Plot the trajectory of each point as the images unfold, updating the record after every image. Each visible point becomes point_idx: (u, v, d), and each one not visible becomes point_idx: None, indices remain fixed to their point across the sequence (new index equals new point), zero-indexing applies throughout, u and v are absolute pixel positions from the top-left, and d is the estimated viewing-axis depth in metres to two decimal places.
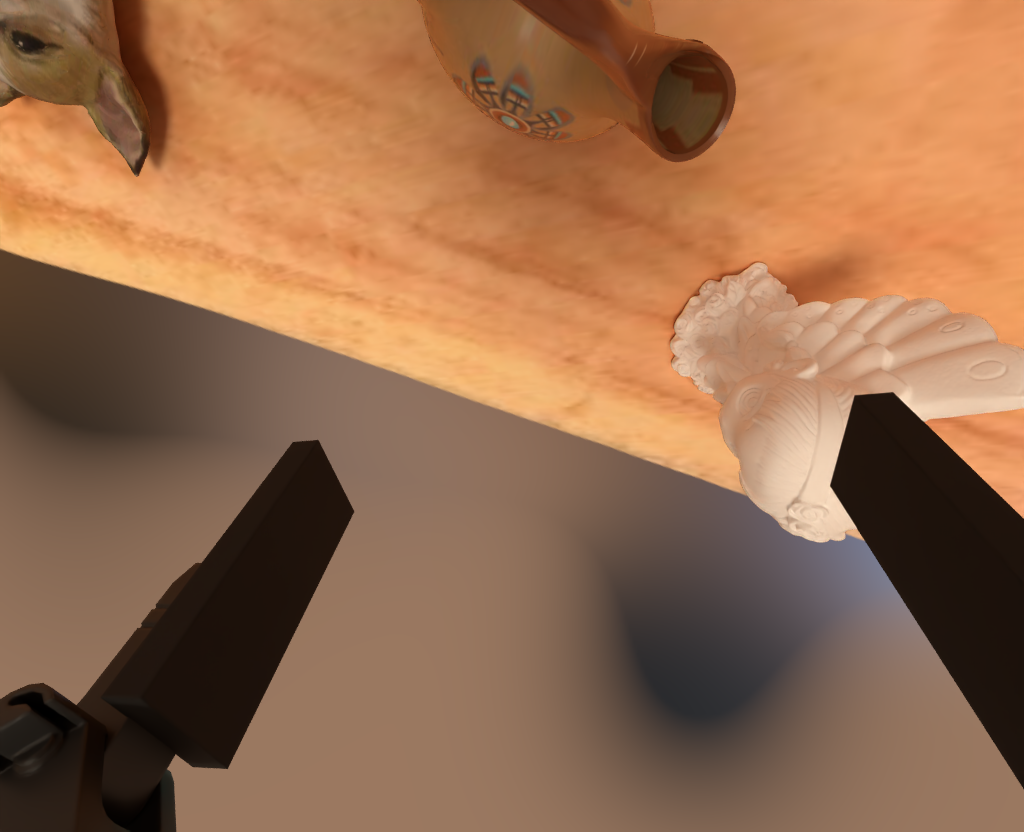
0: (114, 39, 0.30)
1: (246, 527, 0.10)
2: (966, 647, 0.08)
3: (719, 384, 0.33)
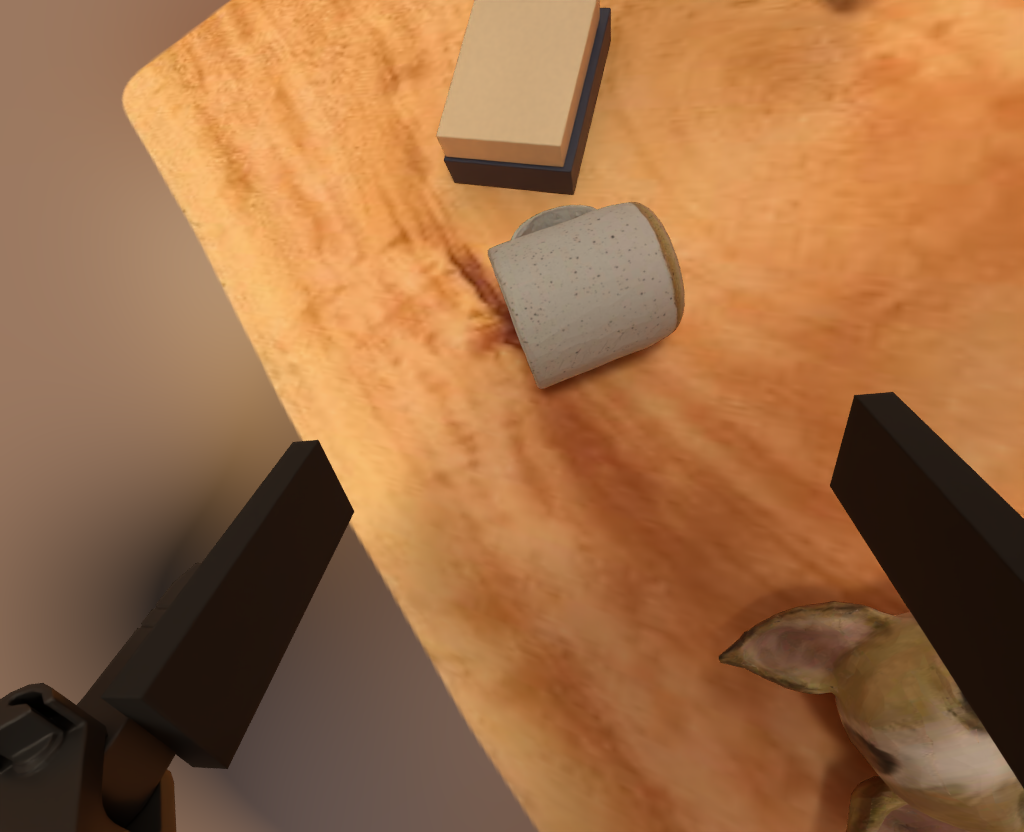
0: None
1: (246, 527, 0.10)
2: (966, 647, 0.08)
3: None
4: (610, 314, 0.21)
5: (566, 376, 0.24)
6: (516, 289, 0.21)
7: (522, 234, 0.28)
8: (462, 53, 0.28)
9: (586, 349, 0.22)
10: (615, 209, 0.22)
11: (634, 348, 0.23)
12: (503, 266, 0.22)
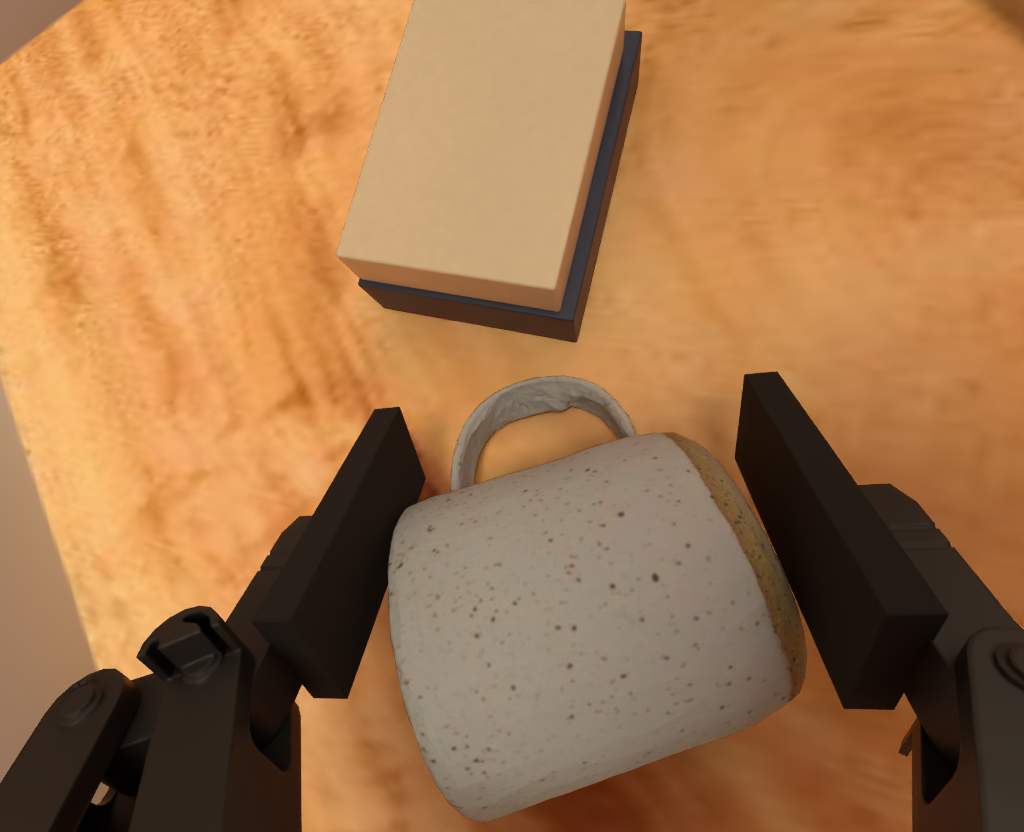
0: None
1: (349, 481, 0.11)
2: (806, 582, 0.09)
3: None
4: (650, 744, 0.09)
5: None
6: (432, 701, 0.09)
7: (478, 426, 0.16)
8: (385, 108, 0.16)
9: None
10: (656, 483, 0.10)
11: None
12: (406, 629, 0.10)
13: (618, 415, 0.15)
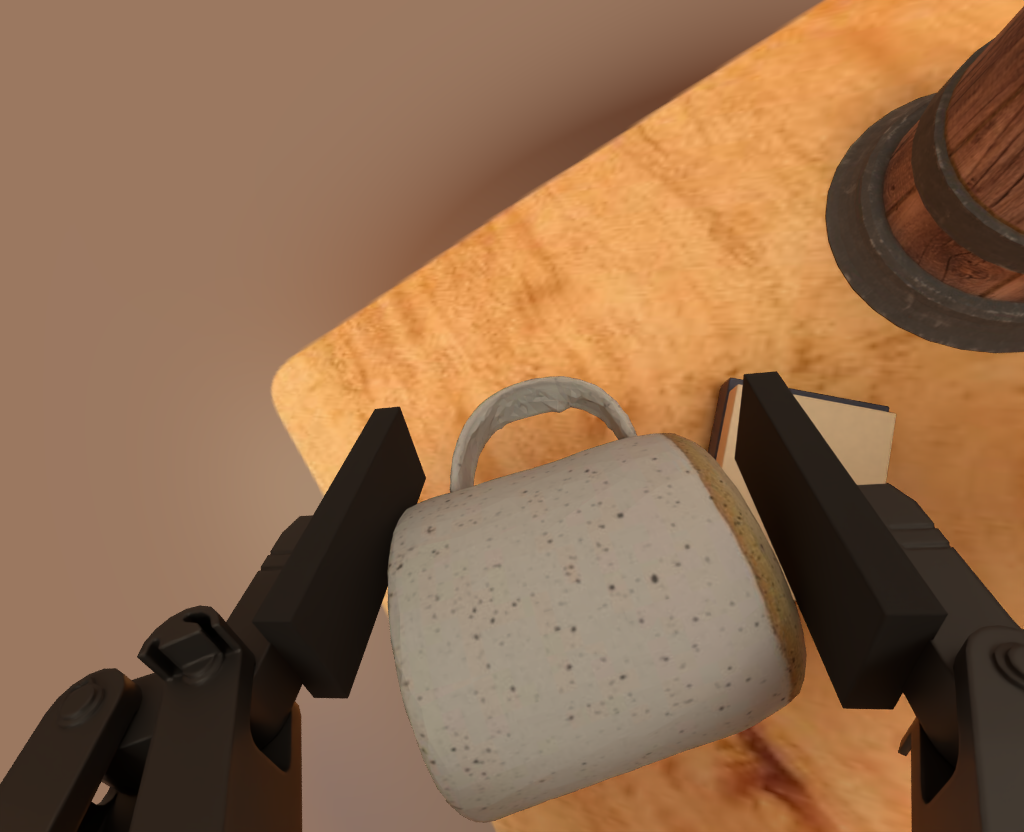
0: None
1: (350, 481, 0.11)
2: (806, 582, 0.09)
3: None
4: (650, 745, 0.09)
5: None
6: (432, 702, 0.09)
7: (478, 427, 0.16)
8: (726, 469, 0.24)
9: (593, 783, 0.10)
10: (655, 484, 0.10)
11: None
12: (406, 631, 0.10)
13: (618, 416, 0.15)
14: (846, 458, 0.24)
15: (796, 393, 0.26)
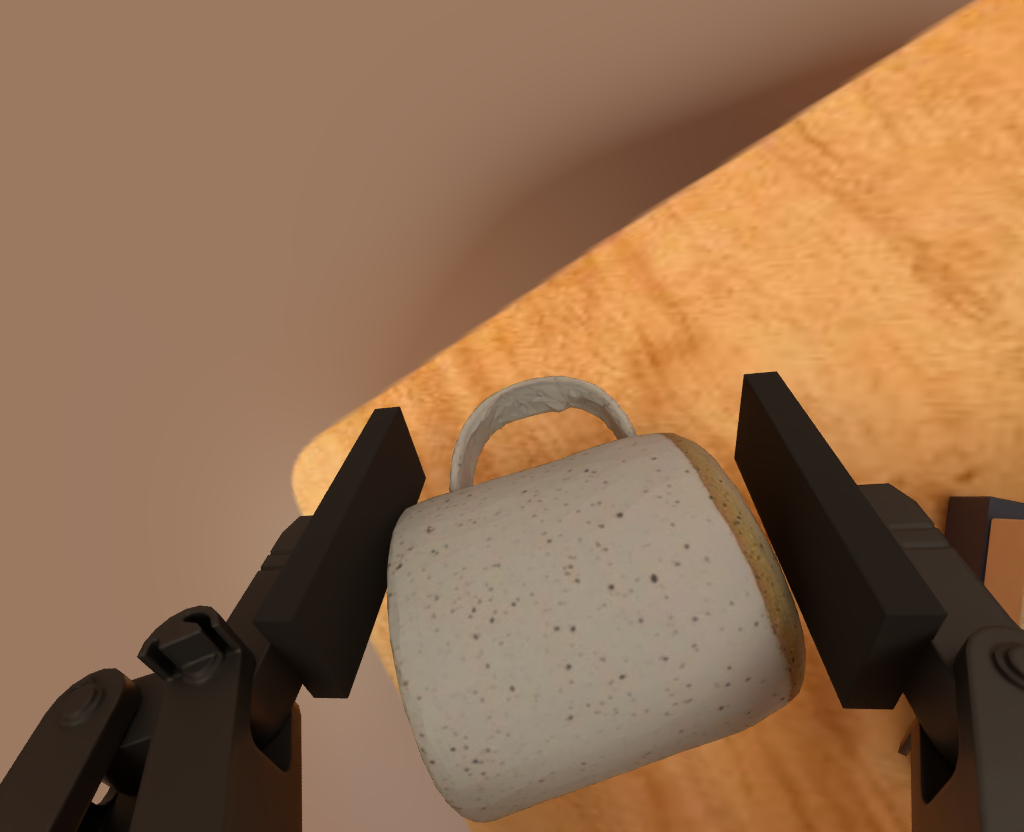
0: None
1: (350, 481, 0.11)
2: (806, 581, 0.09)
3: None
4: (650, 744, 0.09)
5: None
6: (431, 702, 0.09)
7: (477, 427, 0.16)
8: None
9: (593, 783, 0.10)
10: (655, 484, 0.10)
11: None
12: (405, 630, 0.10)
13: (617, 415, 0.15)
14: None
15: None
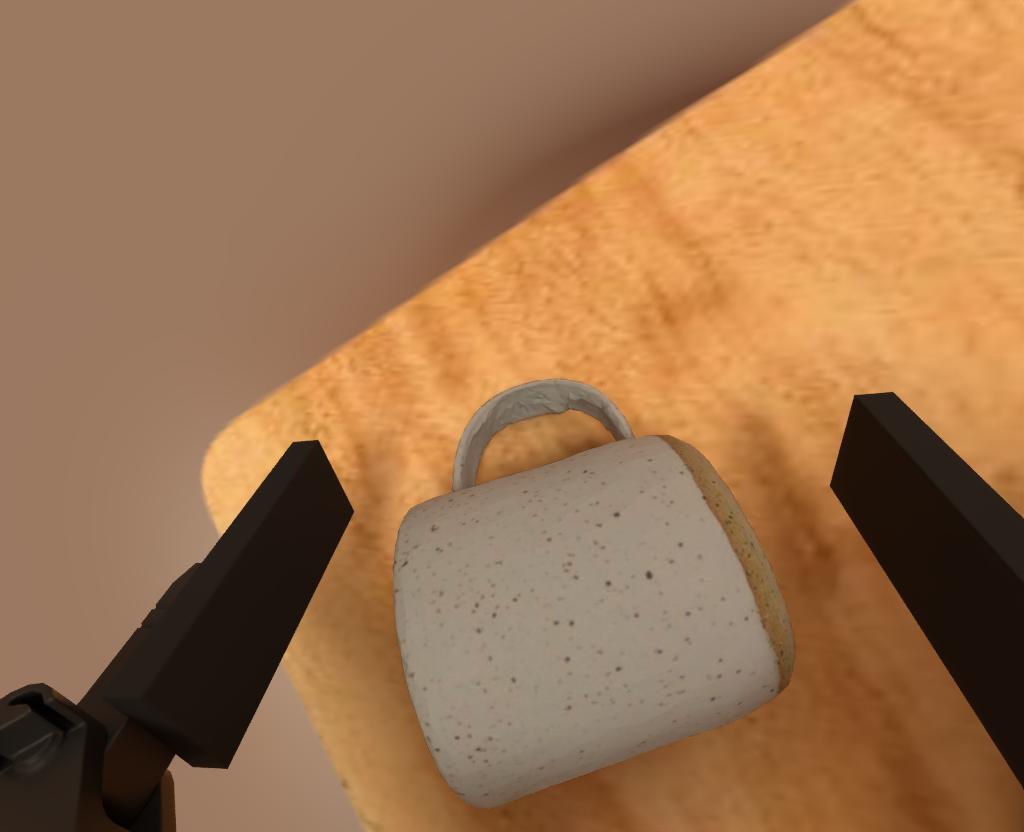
0: None
1: (246, 527, 0.10)
2: (966, 647, 0.08)
3: None
4: (644, 734, 0.10)
5: None
6: (436, 693, 0.10)
7: (479, 428, 0.17)
8: None
9: (590, 771, 0.11)
10: (651, 484, 0.11)
11: None
12: (411, 625, 0.10)
13: (615, 418, 0.15)
14: None
15: None
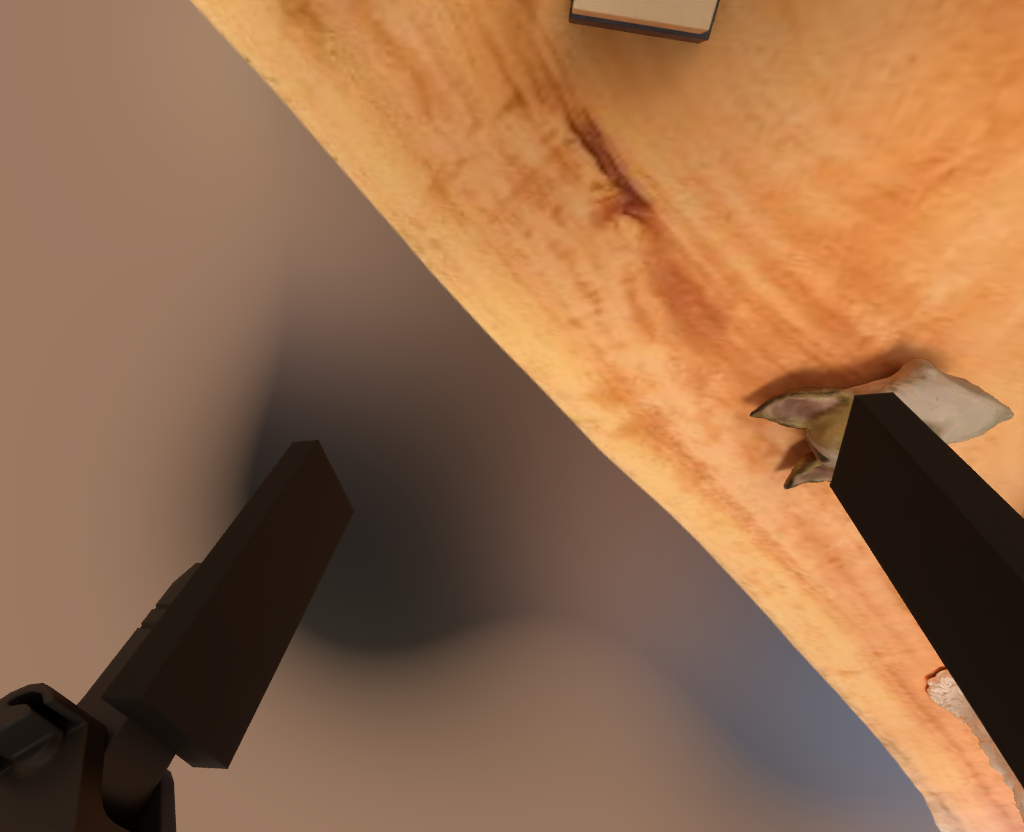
0: None
1: (246, 527, 0.10)
2: (966, 647, 0.08)
3: None
4: None
5: None
6: None
7: None
8: None
9: None
10: None
11: None
12: None
13: None
14: None
15: None
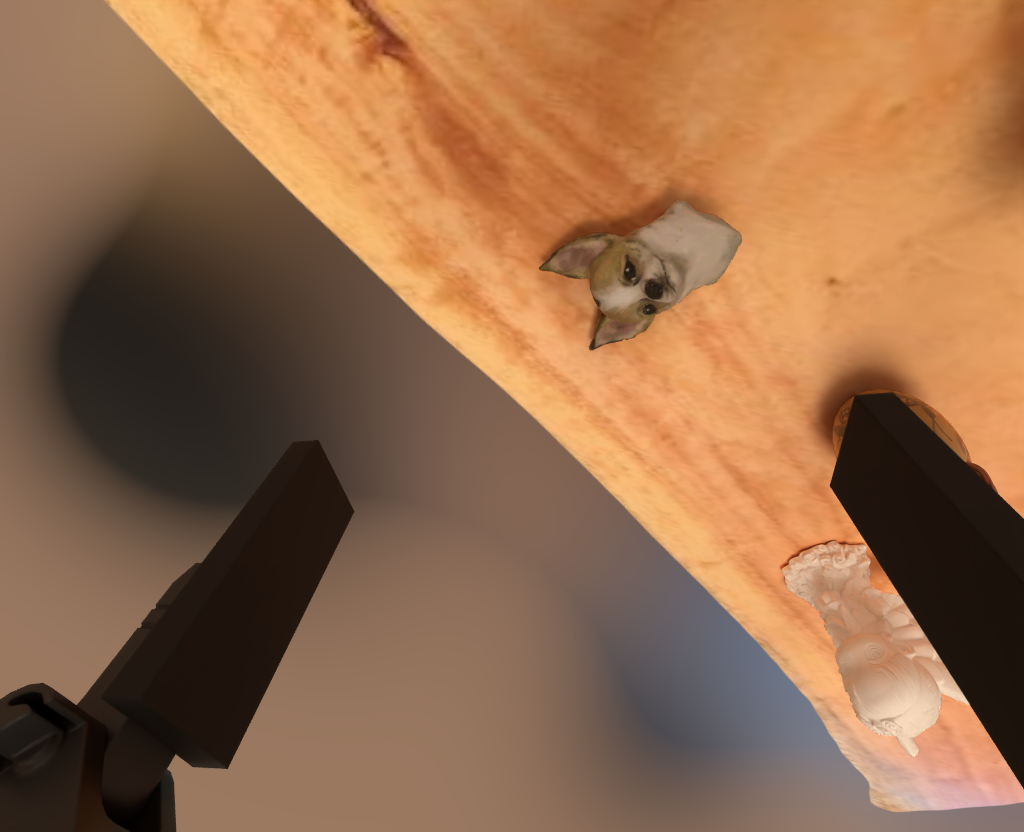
0: None
1: (246, 527, 0.10)
2: (966, 646, 0.08)
3: (831, 614, 0.57)
4: None
5: None
6: None
7: None
8: None
9: None
10: None
11: None
12: None
13: None
14: None
15: None
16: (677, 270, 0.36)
